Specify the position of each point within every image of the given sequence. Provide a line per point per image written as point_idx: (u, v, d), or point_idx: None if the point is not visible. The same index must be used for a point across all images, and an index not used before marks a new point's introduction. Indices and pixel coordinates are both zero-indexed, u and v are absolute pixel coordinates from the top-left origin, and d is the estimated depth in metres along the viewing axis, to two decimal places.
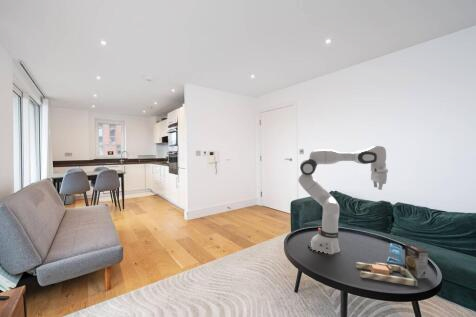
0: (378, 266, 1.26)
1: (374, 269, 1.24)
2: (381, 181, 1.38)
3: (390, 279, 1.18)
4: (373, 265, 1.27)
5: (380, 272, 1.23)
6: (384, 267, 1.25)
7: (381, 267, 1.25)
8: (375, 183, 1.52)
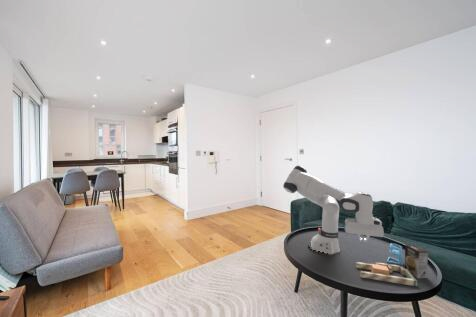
0: (378, 266, 1.26)
1: (374, 269, 1.24)
2: None
3: (390, 279, 1.18)
4: (373, 265, 1.27)
5: (379, 272, 1.23)
6: (384, 267, 1.25)
7: (381, 267, 1.25)
8: (359, 236, 1.28)
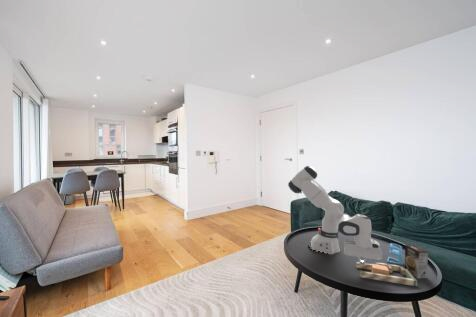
0: (378, 266, 1.26)
1: (373, 269, 1.24)
2: None
3: (390, 279, 1.18)
4: (373, 265, 1.27)
5: (379, 272, 1.23)
6: (384, 267, 1.24)
7: (381, 267, 1.25)
8: (359, 259, 1.28)
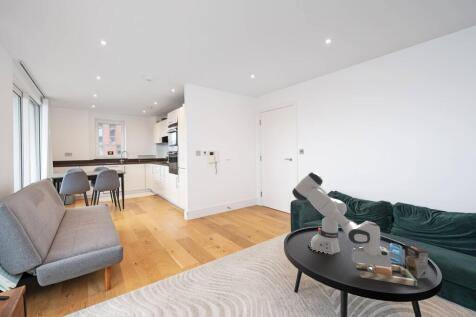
0: (381, 266, 1.25)
1: (376, 269, 1.24)
2: None
3: (390, 279, 1.18)
4: None
5: (382, 272, 1.23)
6: (387, 268, 1.24)
7: (384, 267, 1.24)
8: None
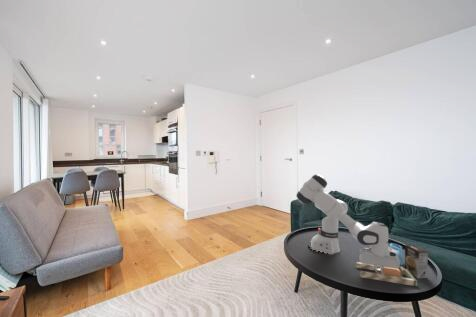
0: (389, 267, 1.24)
1: (385, 270, 1.22)
2: None
3: (390, 279, 1.18)
4: None
5: (391, 274, 1.21)
6: (395, 268, 1.23)
7: (392, 268, 1.23)
8: None
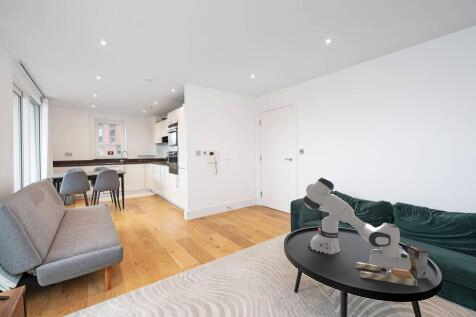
0: (399, 269, 1.23)
1: (395, 272, 1.21)
2: None
3: (390, 279, 1.18)
4: None
5: (401, 275, 1.20)
6: (405, 270, 1.22)
7: (402, 270, 1.21)
8: None
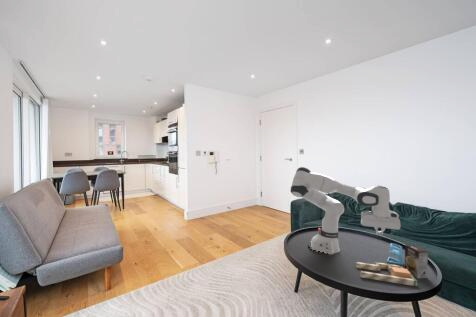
0: (399, 269, 1.23)
1: (395, 272, 1.21)
2: None
3: (390, 279, 1.18)
4: (393, 268, 1.24)
5: (401, 275, 1.20)
6: (405, 270, 1.22)
7: (402, 270, 1.22)
8: None
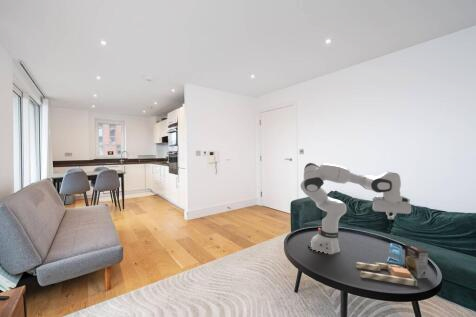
0: (399, 269, 1.23)
1: (395, 272, 1.21)
2: None
3: (390, 279, 1.18)
4: (393, 268, 1.24)
5: (401, 275, 1.20)
6: (405, 270, 1.22)
7: (402, 270, 1.22)
8: (388, 214, 1.33)
